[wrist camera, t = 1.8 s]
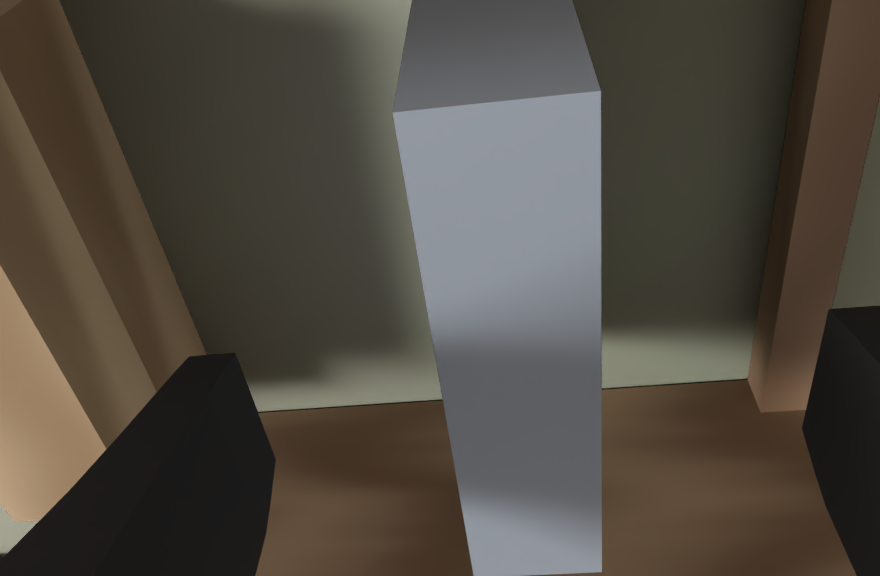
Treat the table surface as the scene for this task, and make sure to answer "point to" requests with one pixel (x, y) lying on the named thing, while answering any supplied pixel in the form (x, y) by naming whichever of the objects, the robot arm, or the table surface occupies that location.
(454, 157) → the grey rectangular box
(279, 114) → the table surface
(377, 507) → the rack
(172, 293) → the offcut
